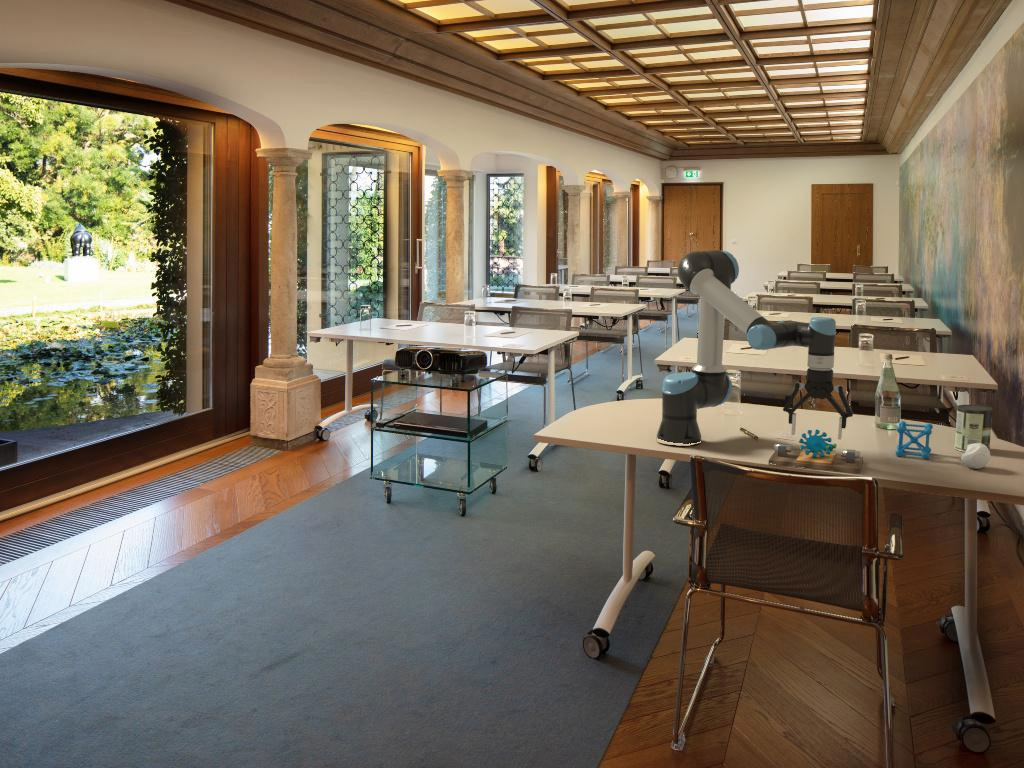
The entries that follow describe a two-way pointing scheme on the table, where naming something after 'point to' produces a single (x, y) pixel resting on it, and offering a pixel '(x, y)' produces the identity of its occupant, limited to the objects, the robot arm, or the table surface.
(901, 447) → the molecular structure
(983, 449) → the crumpled paper ball
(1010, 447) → the table surface
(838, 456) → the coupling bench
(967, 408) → the coffee can
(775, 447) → the shaft pair
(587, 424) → the table surface
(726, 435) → the table surface
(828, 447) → the virus model
